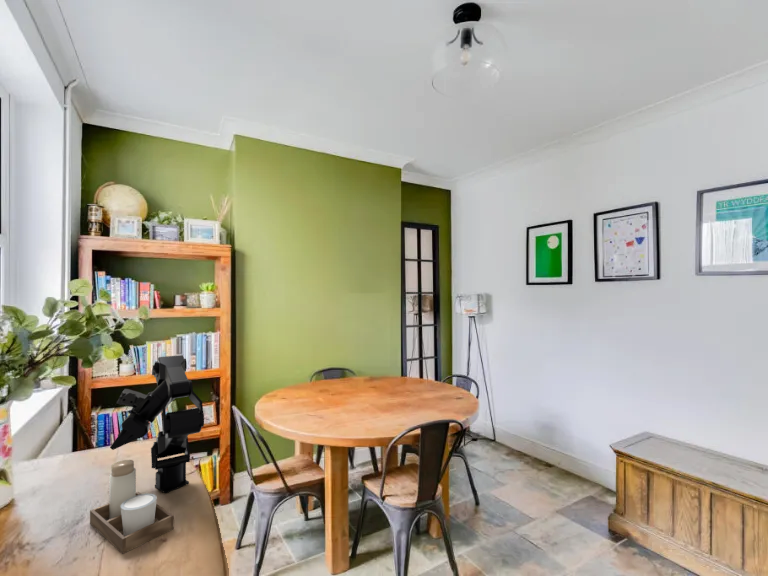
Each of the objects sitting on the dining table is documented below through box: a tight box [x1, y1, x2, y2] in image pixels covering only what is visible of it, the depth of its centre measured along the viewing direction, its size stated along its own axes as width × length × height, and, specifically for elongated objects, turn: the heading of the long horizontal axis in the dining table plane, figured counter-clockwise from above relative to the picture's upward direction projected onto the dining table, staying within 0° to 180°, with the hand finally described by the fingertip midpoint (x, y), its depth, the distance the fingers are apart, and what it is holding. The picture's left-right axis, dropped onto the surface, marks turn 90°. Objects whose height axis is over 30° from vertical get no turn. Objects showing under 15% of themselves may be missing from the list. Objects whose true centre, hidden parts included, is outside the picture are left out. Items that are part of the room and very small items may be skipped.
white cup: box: [121, 493, 158, 537], centre depth 85 cm, size 7×7×7 cm
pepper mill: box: [108, 459, 137, 520], centre depth 91 cm, size 5×5×13 cm
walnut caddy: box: [89, 491, 175, 555], centre depth 88 cm, size 10×18×3 cm, turn 54°
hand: (115, 442), depth 104 cm, fingers open, 9 cm apart
